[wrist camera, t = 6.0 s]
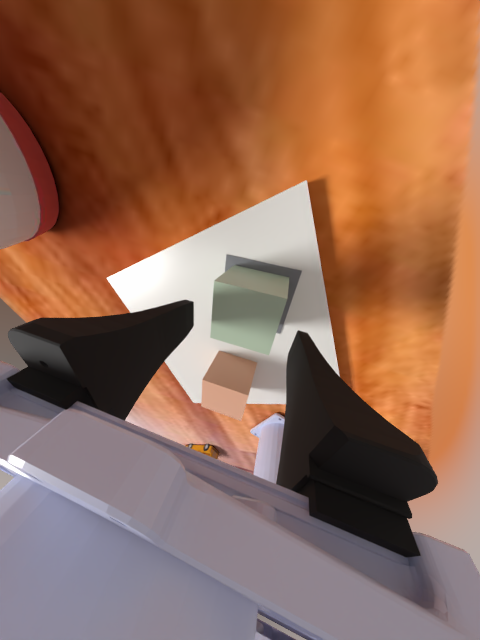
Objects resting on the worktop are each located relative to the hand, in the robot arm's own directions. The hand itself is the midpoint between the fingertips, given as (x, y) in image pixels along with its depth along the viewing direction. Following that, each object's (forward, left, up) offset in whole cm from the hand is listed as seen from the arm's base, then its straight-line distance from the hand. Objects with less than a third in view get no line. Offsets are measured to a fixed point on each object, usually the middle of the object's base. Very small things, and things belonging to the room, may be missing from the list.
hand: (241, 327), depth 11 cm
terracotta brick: (-3, +10, -5) cm, 12 cm away
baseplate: (0, +7, -6) cm, 9 cm away
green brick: (0, 0, -5) cm, 5 cm away
